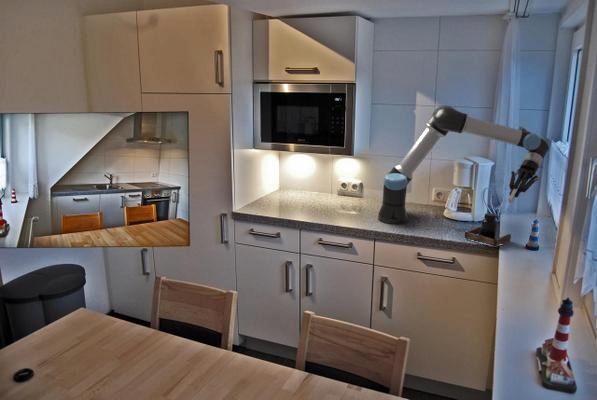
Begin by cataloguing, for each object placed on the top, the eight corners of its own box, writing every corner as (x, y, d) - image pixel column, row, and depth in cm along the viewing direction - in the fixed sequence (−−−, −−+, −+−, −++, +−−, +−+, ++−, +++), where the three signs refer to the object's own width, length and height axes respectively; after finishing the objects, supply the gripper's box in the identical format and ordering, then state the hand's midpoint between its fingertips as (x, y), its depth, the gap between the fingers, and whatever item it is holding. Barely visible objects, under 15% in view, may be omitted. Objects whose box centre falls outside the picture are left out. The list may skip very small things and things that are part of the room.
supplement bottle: (488, 236, 222) (492, 211, 219) (498, 241, 215) (502, 216, 212) (476, 237, 220) (479, 212, 217) (486, 242, 214) (489, 217, 210)
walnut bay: (464, 239, 217) (465, 232, 216) (479, 233, 226) (480, 226, 225) (495, 248, 206) (496, 240, 205) (510, 241, 215) (511, 234, 214)
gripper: (546, 170, 228) (525, 209, 222) (519, 166, 238) (498, 202, 231) (543, 161, 223) (522, 199, 217) (516, 156, 233) (495, 193, 226)
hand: (510, 201), depth 224 cm, fingers closed
